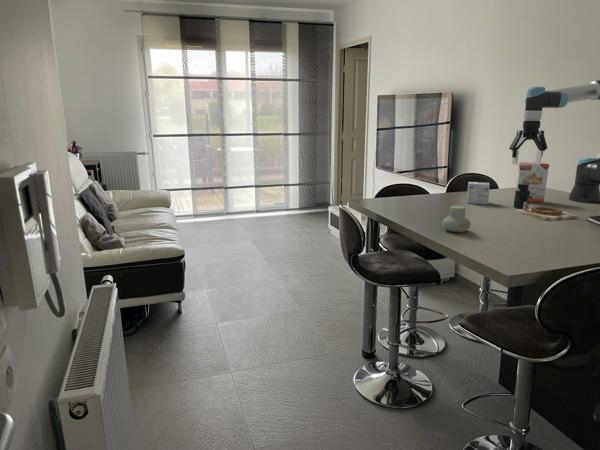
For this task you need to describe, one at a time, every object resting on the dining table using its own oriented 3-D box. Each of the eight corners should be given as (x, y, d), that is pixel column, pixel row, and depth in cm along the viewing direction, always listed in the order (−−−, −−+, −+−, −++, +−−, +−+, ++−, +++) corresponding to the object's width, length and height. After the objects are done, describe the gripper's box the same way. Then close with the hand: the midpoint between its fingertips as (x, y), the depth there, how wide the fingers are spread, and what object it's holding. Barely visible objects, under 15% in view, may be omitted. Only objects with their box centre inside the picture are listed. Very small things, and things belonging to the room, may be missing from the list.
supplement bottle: (529, 209, 228) (532, 185, 225) (515, 208, 229) (517, 185, 226) (525, 206, 234) (528, 183, 231) (511, 206, 236) (514, 182, 233)
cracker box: (515, 201, 247) (520, 162, 242) (513, 199, 253) (518, 161, 248) (544, 203, 243) (549, 163, 238) (541, 201, 249) (547, 162, 244)
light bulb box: (487, 202, 245) (489, 182, 242) (488, 204, 239) (490, 184, 236) (466, 201, 248) (468, 181, 246) (466, 203, 242) (468, 183, 239)
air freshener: (453, 234, 182) (456, 210, 179) (438, 230, 189) (440, 206, 186) (473, 231, 187) (475, 207, 184) (457, 227, 194) (459, 203, 191)
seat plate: (547, 210, 227) (548, 199, 225) (577, 218, 210) (578, 207, 208) (516, 211, 222) (517, 201, 221) (544, 220, 205) (545, 209, 204)
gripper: (547, 120, 228) (541, 162, 233) (504, 119, 222) (499, 163, 227) (559, 120, 221) (553, 164, 226) (515, 120, 214) (510, 165, 220)
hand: (526, 164), depth 226 cm, fingers open, 13 cm apart
